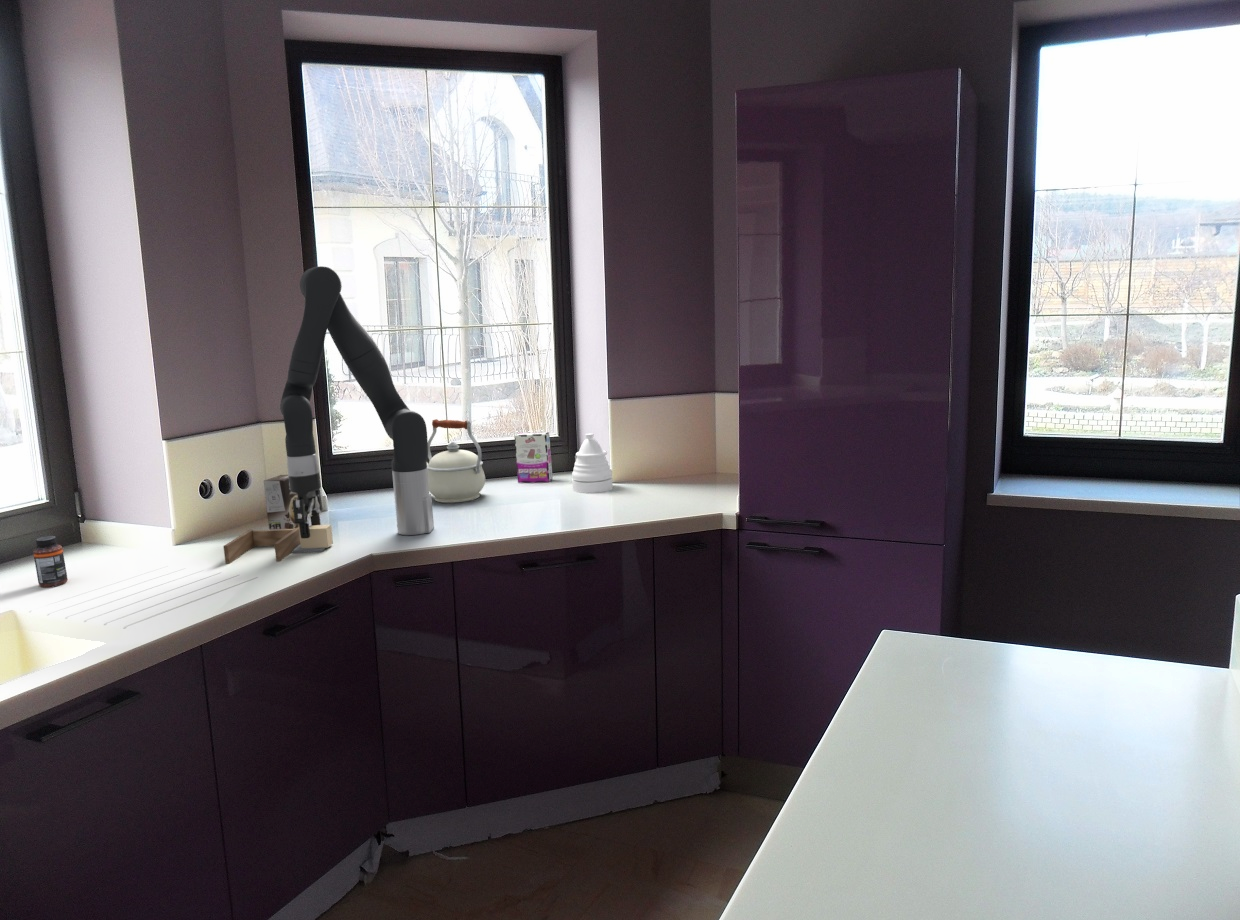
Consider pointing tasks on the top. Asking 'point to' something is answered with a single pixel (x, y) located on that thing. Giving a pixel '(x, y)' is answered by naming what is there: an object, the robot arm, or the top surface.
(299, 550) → the slate pad
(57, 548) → the supplement bottle
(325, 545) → the block
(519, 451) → the candy bar box
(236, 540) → the shelf bay
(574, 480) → the honey pot
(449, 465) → the kettle
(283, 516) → the coffee box
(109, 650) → the top surface
